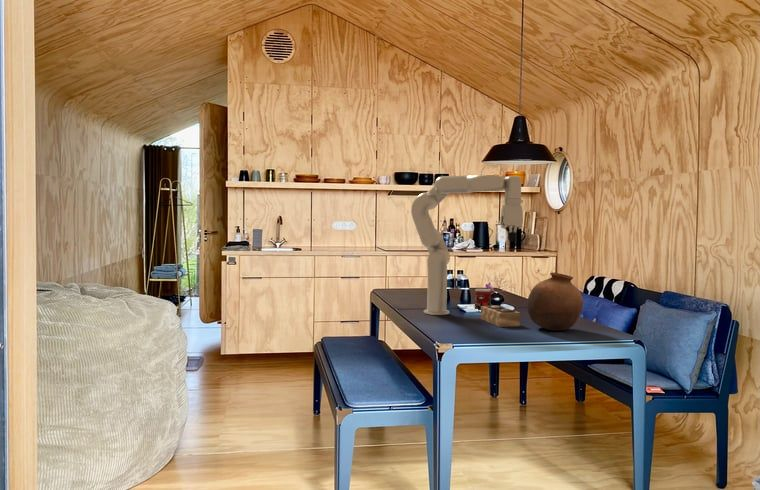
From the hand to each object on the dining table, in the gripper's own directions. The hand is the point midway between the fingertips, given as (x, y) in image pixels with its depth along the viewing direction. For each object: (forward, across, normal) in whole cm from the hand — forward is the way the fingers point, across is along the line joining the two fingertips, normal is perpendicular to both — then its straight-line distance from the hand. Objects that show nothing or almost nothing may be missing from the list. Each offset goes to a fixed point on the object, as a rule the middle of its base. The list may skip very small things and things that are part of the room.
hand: (511, 240), depth 292 cm
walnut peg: (+37, +10, +15) cm, 41 cm away
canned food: (+37, +4, -20) cm, 43 cm away
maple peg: (+37, +10, +5) cm, 39 cm away
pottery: (+37, -6, +30) cm, 48 cm away
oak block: (+37, +10, +10) cm, 40 cm away
